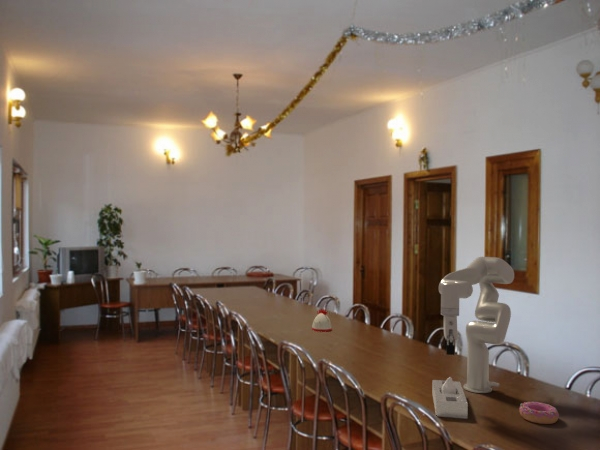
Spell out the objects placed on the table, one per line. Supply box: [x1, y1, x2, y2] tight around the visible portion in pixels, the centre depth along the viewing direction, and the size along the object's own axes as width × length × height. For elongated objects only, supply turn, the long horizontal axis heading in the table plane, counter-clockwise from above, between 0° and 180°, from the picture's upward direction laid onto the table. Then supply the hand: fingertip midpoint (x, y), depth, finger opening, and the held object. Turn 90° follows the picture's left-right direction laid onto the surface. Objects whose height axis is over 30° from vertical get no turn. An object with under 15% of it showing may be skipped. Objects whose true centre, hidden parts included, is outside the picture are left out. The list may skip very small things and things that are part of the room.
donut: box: [518, 401, 560, 425], centre depth 216 cm, size 14×14×5 cm
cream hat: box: [311, 308, 333, 333], centre depth 386 cm, size 14×14×15 cm
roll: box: [442, 376, 456, 394], centre depth 230 cm, size 6×12×6 cm
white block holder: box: [431, 379, 469, 420], centre depth 230 cm, size 12×30×6 cm, turn 169°
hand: (449, 351), depth 230 cm, fingers open, 9 cm apart
